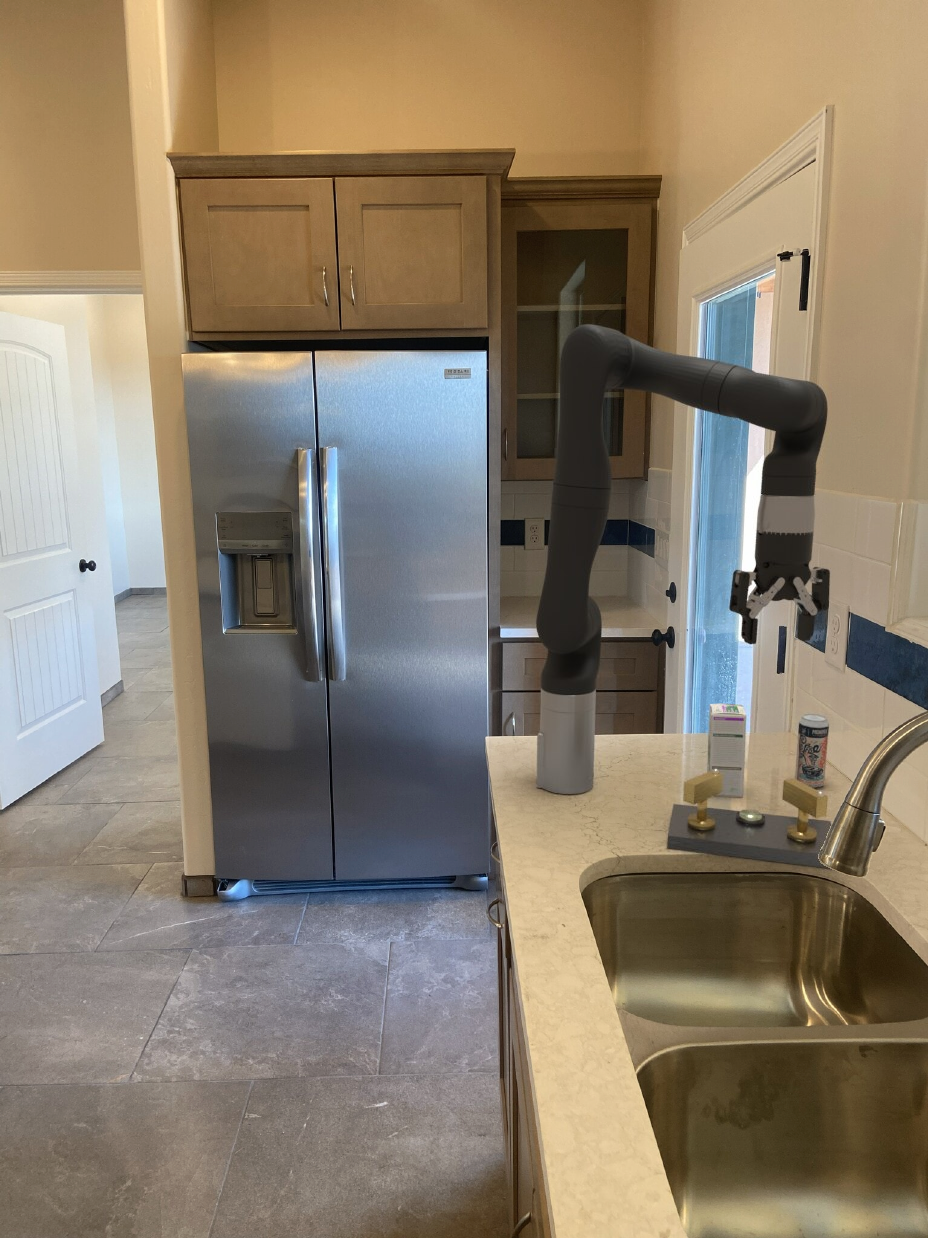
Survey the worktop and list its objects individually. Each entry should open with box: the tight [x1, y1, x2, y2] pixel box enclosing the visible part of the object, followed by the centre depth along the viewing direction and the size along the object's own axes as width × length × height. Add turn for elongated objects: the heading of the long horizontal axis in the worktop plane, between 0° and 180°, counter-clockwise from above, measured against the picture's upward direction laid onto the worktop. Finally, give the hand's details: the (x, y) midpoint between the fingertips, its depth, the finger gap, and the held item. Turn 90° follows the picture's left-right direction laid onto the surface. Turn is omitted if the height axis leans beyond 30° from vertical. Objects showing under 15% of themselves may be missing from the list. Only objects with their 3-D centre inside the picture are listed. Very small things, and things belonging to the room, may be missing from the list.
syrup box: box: [706, 703, 747, 799], centre depth 150 cm, size 6×6×14 cm
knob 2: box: [782, 777, 829, 842], centre depth 128 cm, size 7×4×8 cm, turn 20°
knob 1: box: [682, 769, 723, 830], centre depth 132 cm, size 7×4×8 cm, turn 130°
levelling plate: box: [666, 803, 832, 869], centre depth 132 cm, size 23×12×3 cm, turn 73°
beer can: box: [794, 713, 830, 789], centre depth 153 cm, size 5×5×12 cm
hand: (776, 641), depth 128 cm, fingers open, 8 cm apart
